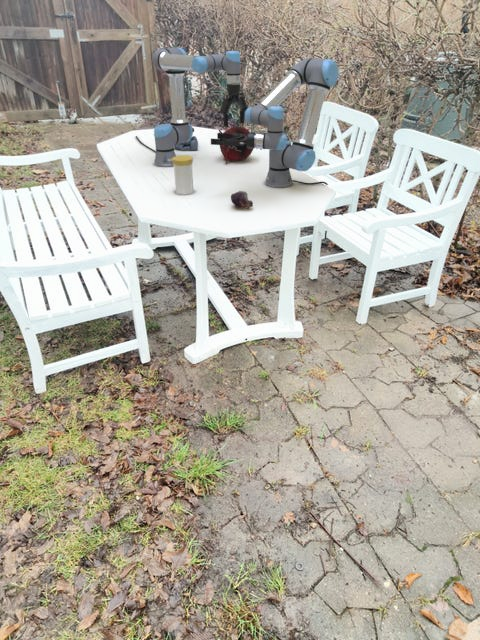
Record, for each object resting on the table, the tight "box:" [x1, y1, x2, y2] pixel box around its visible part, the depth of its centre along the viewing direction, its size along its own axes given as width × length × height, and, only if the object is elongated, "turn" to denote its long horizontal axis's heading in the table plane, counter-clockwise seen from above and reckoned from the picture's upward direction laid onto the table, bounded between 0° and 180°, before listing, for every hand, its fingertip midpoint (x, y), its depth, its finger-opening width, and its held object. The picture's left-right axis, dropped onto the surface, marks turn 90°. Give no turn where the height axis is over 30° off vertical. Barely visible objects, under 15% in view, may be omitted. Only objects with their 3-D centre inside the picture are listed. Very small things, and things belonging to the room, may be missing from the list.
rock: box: [230, 190, 254, 209], centre depth 225 cm, size 12×9×10 cm
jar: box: [173, 163, 195, 196], centre depth 243 cm, size 10×10×18 cm
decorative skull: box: [218, 126, 254, 165], centre depth 296 cm, size 21×24×25 cm
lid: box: [172, 155, 194, 165], centre depth 239 cm, size 11×11×2 cm
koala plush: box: [174, 121, 199, 151], centre depth 321 cm, size 17×18×20 cm
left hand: (234, 125), depth 259 cm, fingers open, 13 cm apart
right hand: (214, 138), depth 228 cm, fingers open, 13 cm apart
